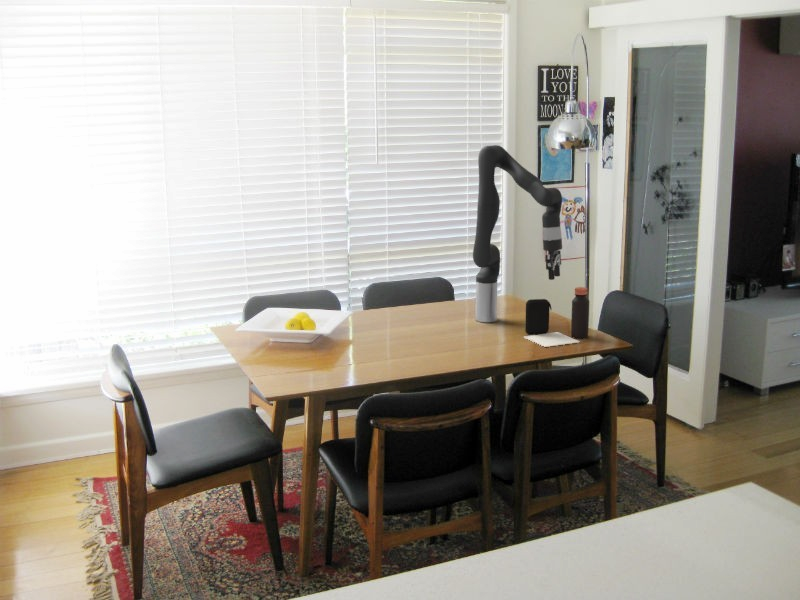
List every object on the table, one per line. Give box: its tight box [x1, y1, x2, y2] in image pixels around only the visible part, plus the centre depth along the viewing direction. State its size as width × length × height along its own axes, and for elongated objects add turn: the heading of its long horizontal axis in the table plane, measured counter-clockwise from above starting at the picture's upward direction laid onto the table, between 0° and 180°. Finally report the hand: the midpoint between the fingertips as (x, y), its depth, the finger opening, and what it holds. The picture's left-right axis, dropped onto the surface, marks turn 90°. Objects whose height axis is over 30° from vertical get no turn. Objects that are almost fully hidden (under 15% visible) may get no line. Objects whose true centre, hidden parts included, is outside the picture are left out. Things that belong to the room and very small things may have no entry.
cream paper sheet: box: [523, 331, 581, 348], centre depth 336 cm, size 16×16×1 cm
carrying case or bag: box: [524, 298, 552, 336], centre depth 343 cm, size 11×3×15 cm, turn 96°
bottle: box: [570, 286, 590, 340], centre depth 338 cm, size 7×7×20 cm
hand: (554, 277), depth 342 cm, fingers open, 8 cm apart
